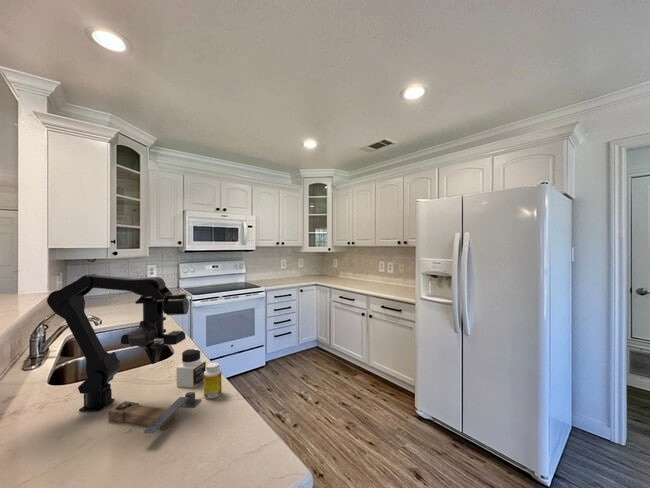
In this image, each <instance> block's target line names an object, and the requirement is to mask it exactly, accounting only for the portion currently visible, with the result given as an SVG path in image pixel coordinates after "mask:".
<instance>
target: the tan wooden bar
mask: <svg viewBox="0 0 650 488" xmlns="http://www.w3.org/2000/svg"><path fill="white" fill-rule="evenodd" d="M126 402H128V403H129V406H128V408H127V409H125V410H123V411H121V410H120V408H118V406H119V405H120V404H122V403H126ZM165 410H167V409H164V408H161V407H160V408H159V407H154V406H148V405H142V404H139V402H134V401H129V400H128V401H127V400H124V401H123V402H120V403H119V404H118V405H115V406H113V408H111V409H109V410H108V412H107V413H108V414H107V419H108V420H109V421H113V422H118V423H124V422H128V423H132V424H137V425H141V426H147V427H148V426H149V425H150V424H151V423H153V422H154V421H155V420H156V419H157V418H158V417H159V416H160V415H161V414H162V413H163V412H164V411H165ZM176 421H177V411H176V412H175V413H174V414H173V415H172V416H171V417H170V418H169V419H168V420H167V421H166V422H165V423H164V424H163V425H162V426H161V427H160V428H159V429H162V430H165V429H167V428H168V427H170V426H171V425H173V423H175V422H176Z"/></svg>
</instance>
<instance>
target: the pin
mask: <svg viewBox="0 0 650 488" xmlns="http://www.w3.org/2000/svg"><path fill="white" fill-rule="evenodd" d="M121 403H122V404H121ZM121 403H119V404H120V405H119V404H118V405H119V406H118V408H120V410H121V411H123V410H125V409H127V408H128V406H129V403H128V402H126V403H123V402H121Z"/></svg>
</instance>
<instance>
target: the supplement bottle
mask: <svg viewBox="0 0 650 488" xmlns="http://www.w3.org/2000/svg"><path fill="white" fill-rule="evenodd" d="M222 391H223V390H222V369H221V368H220V364H219V363H218V362H211V363H208V364H206V371H205V372H204V380H203V396H204V398H205V399H208V400H211V399H216V398H218V397H220V395H221V394H222Z"/></svg>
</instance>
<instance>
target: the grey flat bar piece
mask: <svg viewBox="0 0 650 488" xmlns="http://www.w3.org/2000/svg"><path fill="white" fill-rule="evenodd" d="M184 395H185V396H179V398H177V399H176V400H175V401H174V402H173V403H172V404H171V405H169V407H168V408H167V409H166V410H165V411H164V412H163V413H162V414H161V415H160V416H159V417H158V418H157V419H156V420H155V421H154V422H153V423H151V424H150V425H149V426H147V427H146V428H145V429H144V430H143V434H155V433H157V431H158V430H159V429H161V428H160V427H161V426H162V425H163V424H164V423H165V422H166V421H167V420H168V419H169V418H170V417H171V416H172V415H173V414H174V413H175V412H176V413H177V411H178V410H180V408H194V409H195V408H196V407H197V405H199V403H201V401H202V398H201V399H200V398H196V392H193V391H187V392H186V393H185V394H184Z"/></svg>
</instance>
